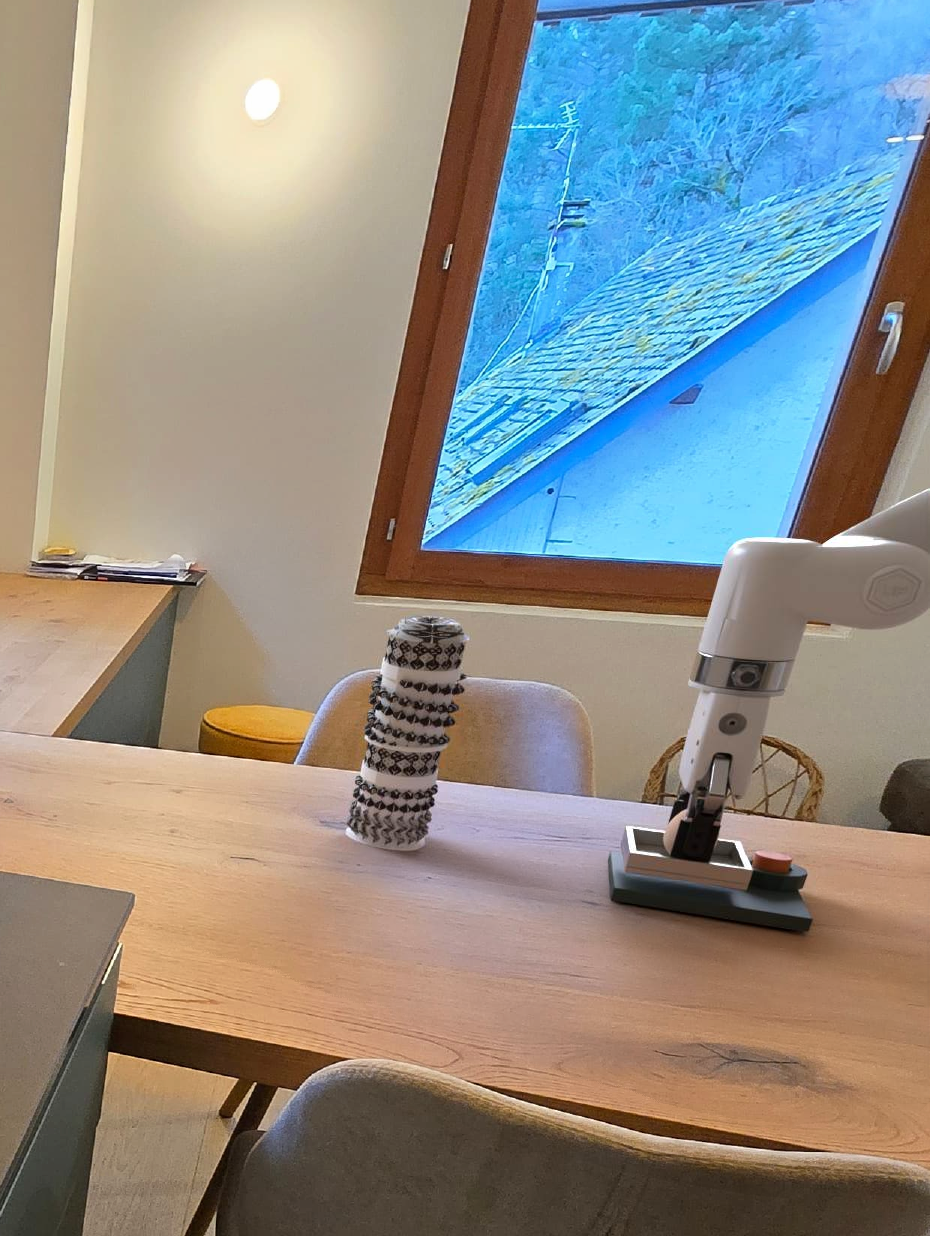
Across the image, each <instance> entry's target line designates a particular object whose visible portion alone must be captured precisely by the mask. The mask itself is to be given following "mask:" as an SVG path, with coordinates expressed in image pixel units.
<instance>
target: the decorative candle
mask: <svg viewBox="0 0 930 1236" xmlns="http://www.w3.org/2000/svg"><path fill="white" fill-rule="evenodd" d="M386 634H387V635H388V640H387V644H386V649H385V650H386V651H385V654H384V655H385V656H384V657H383V658H382V662H381V668H380V673H379V674H378V675H376V676H375V678H374V679H372V681H371V690H372V692H371V693H370V694H369V696H368V697H369V698H368V703H369V704H370V705H372V707H371V708H370V710H368V711H367V713H366V721H367V723H366V724H365V725H364V730H363V734H364V740H365V741H366V742H367V744H366V745H367V746H366V751H365V756H364V758H363V760H362V763H361V768H360V774H357V775H356V777H355V780H354V784H355V785H356V786H358V787H355V788H353V790H352V792H353V793H352V797H353V798H354V799H355V800H353V801H352V802H351V803H350V804H349V809H348V813H350V814H349V815H348V816H347V820H346V825H347V828H346V830H345V834H346V835H347V837H349V838H350V839H352V840H354V841H356V842H358V843H361V844H364V845H368V846H371V847H374V848H379V849H385V850H390V851H403V852H404V851H405V852H408V851H409V852H410V851H417V850H419V849H421V848H423V847H424V846H425V844H426V843H425V842H426V838H425V836H427V835H429V828H430V827H429V825H428V824H429V823H431V822H432V820H433V819H432V816H433V815H432V812H431V811H430V809H431V808H433V807H435V797H433V796H434V795H436V794H438V792H439V789H438V788H439V786H438V784H437V780H438V776H439V768H438V766H439V763H440V759H441V753H442V751H443V750H445V749H447V748H448V743H450V740H451V738H450V736H449V735H448V734H447V733H446V732H445V730H446V728H450V727H452V726H455V725H456V719H455V718H454V717H453V716H452V715H451V714H453V713H456V712H457V711H459V710H460V706H459V704H457V703H456V702H455V701H454V700H453V697H454V696H459V695H460V694H463V693H465V690H466V689H465V687H464V686H463V685H462V684H461V683H459V682H461V681H463V680H466V679H467V674H465V673H462V670H463V664H462V663H463V662H462V661H463V657H464V653H465V647H466V643H467V642H468V641H470V639H471V638H470V636H469V635H467V634H465V633H464V631H463V627H462V625H461V624H460V622H459V621H456V620H454V619H451V618H448V617H441V616H433V615H432V616H431V615H413V616H408V617H404V618H402V619H400V620H399V621H398V623H396V625H395V626H394V627H393V628H391V629H386Z"/></svg>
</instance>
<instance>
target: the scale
mask: <svg viewBox="0 0 930 1236" xmlns="http://www.w3.org/2000/svg"><path fill="white" fill-rule="evenodd" d="M754 857H755V856H747V858H748V860H749V862H750V864H751V867H752V869H753V873H752V876H751V879H750V882H749V884H748V888H747V890H740V889H733V888H727V887H720V886H714V885H707V884H701V883H694V882H688V881H681V880H674V879H668V878H661V877H655V876H648V875H642V874H635V873H629V872H625V871H624V864H623V857H622V852H617V851H609V855H608V857H607V869H608V871H607V872H608V884H609V896H610V901H613V902H620V903H625V904H632V905H638V906H644V907H649V908H650V907H651V908H657V909H662V910H669V911H675V912H680V913H688V914H693V915H699V916H704V917H705V916H706V917H711V918H712V917H713V918H718V919H725V920H731V921H736V922H742V923H749V924H755V925H761V926H767V927H768V926H769V927H773V928H779V929H786V930H791V931H798V932H803V933H809V932H810V929H811V926H812V923H813V920H814V919H813V917H812V915H811V912H810V910H809V908H808V907H807V904H806V902H805V901H804V899H803V897H802V894H801V893H800V891H799V890H802V889H804V886H805V883H806V880H807V878H808V875H809V872H808V871H807V869H806V868H804V867H801V866H799V865H797V864H795V863H793V862H792V863H791V866H790V868H789V871H788V872H774V871H767V870H764V869H760V868H756V867H754V866H752V863H753V860H754Z"/></svg>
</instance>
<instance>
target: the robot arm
mask: <svg viewBox="0 0 930 1236" xmlns="http://www.w3.org/2000/svg"><path fill="white" fill-rule="evenodd" d="M929 609H930V488H927V489H926V490H924V491H921V492H919V493H917V494H915V495H912V496H911V497H908V498H906V499H904V500H902V501H900V502H898V503H896V504H894V505H892V506H890V507H888V508H886V509H884V510H882V511H880V512H878V513H877V514H875V515H873V516H871V517H869V518H867V519H865V520H863V521H861V522H859V523H858V524H855V525H854V526H852V527H850V528H848V529H846V530H844V531H842V532H840V533H839V534H837V535H835V536H833V537H832V538H830V539H829V540H827V541H826V542H824V543H823V544H822V543H820V542H818V541H814V540H809V539H801V538H800V539H799V538H788V537H787V538H785V537H750V538H744V539H741V540H738V541H736V542H735V543H733V544H732V545H731V546H730V547H729V548H728V550H727V551H726V554H725V556H724V559H723V562H722V566H721V569H720V572H719V576H718V579H717V584H716V586H715V590H714V594H713V596H712V600H711V604H710V608H709V611H708V614H707V617H706V621H705V624H704V627H703V631H702V634H701V638H700V641H699V644H698V648H697V652H696V655H695V658H694V661H693V665H692V669H691V671H690V675H689V679H688V682H687V685H688V686H689V687H690V688H693V689H696V690H699V695H698V697H697V700H696V703H695V707H694V710H693V714H692V717H691V721H690V724H689V727H688V731H687V735H686V738H685V741H684V747H683V750H682V754H681V758H680V763H679V769H678V770H679V771H678V773H679V779H680V781H681V786H680V788H679V791H678V794H677V799H675V800H674V801H673V805H672V809H671V812H670V815H669V819H668V823H667V826H668V824H669V823H670V821H671V820H672V819H673V818H674V817H675V816H676V815H678V814H679V813H680V812H682V811H684V810H686V809H687V811H686V816H685V820H680V823H679V827H678V830H677V833H676V837H675V840H674V843H673V847H672V850H671V853H670V857H676V858H682V859H689V860H696V861H703V862H710V859H711V856H712V853H713V850H714V846H715V843H716V840H717V837H718V834H719V835H720V830H721V828H722V825H721V824H722V820H723V816H724V815H723V814H724V810H725V806H726V802H727V798H728V793H729V792H730V794H731V796H733V797H734V799H735V800H742V799H744V798H745V797H747V794H748V790H749V787H750V785H751V784H750V783H751V780H752V777H753V772H754V768H755V764H756V761H757V757H758V755H759V750H760V746H761V743H762V740H763V736H764V731H765V727H766V724H767V720H768V716H769V715H768V714H769V709H770V703H771V698H776V697H782V696H784V695H785V693H786V689H787V686H788V683H789V680H790V677H791V674H792V670H793V667H794V665H795V661H796V658H797V654H798V652H799V648H800V645H801V642H802V640H803V636H804V633H805V631H806V627H807V624H808V622H817V623H823V624H828V625H835V626H841V627H846V628H852V629H858V630H868V631H871V630H873V631H874V630H875V631H876V630H887V629H892V628H896V627H899V626H901V625H905V624H907V623H910V622H912V621H914V620H915V619H917V618H919V617H920V616H922V615H923V614H924V613H926V612H927V611H928V610H929ZM667 826H666V827H667Z"/></svg>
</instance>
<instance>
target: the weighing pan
mask: <svg viewBox="0 0 930 1236" xmlns="http://www.w3.org/2000/svg"><path fill="white" fill-rule="evenodd" d="M664 833H665V830H659V829H658V830H657V829H651V828H643V827H636V826H628V825H626V826H625V828H624V831H623V836H622V838H621V842H620V848H621V853H622V857H623V864H624V871H625V872H629V873H635V874H642V875H648V876H655V877H661V878H668V879H674V880H681V881H688V882H694V883H701V884H707V885H714V886H720V887H727V888H733V889H740V890H747V888H748V884H749V882H750V879H751V876H752V873H753V869H752V867H751V864H750V862H749V860H748V858H747V857H748V855H747V853H746V851H745V848H744V846H743V844H742V841H740V840H739V841H738V840H731V839H723V838H718V841H717V844H716V846H715V848H714V850H713V853H712V856H711V859H710V862H703V861H696V860H689V859H682V858H676V857H670V854H669V853H668V852H667V850H666V848H665V846H664V842H663V837H664Z"/></svg>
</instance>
